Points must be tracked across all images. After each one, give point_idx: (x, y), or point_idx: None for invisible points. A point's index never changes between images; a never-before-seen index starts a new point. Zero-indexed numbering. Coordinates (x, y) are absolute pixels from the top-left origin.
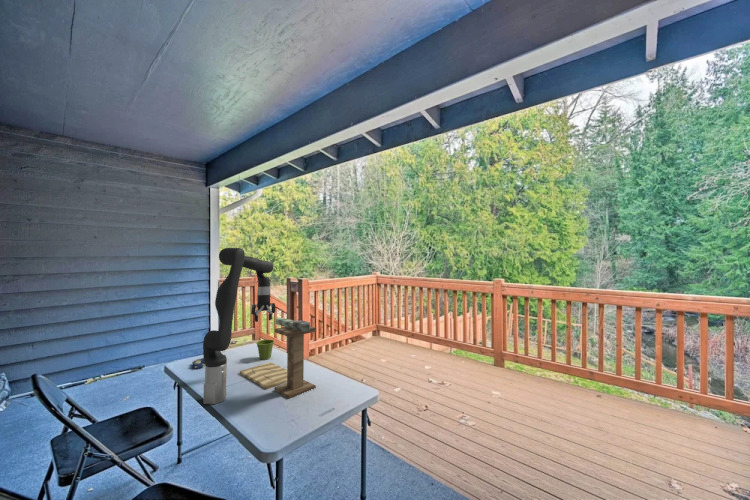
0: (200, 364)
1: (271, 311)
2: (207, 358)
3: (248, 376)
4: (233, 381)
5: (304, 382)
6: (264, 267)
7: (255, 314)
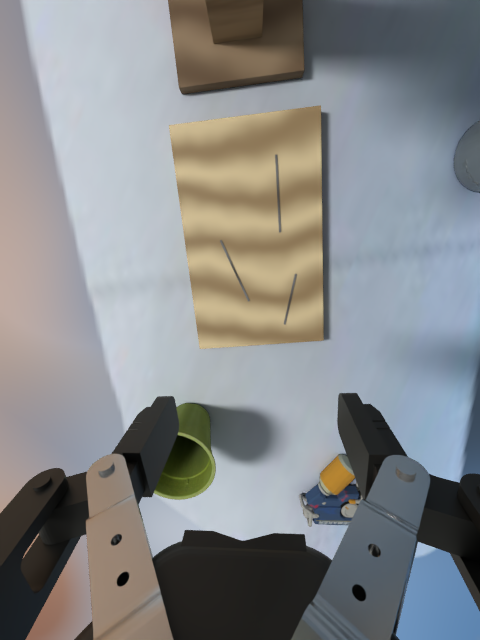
0: None
1: (93, 496)
2: None
3: (322, 269)
4: (369, 279)
5: (185, 24)
6: None
7: (428, 486)
